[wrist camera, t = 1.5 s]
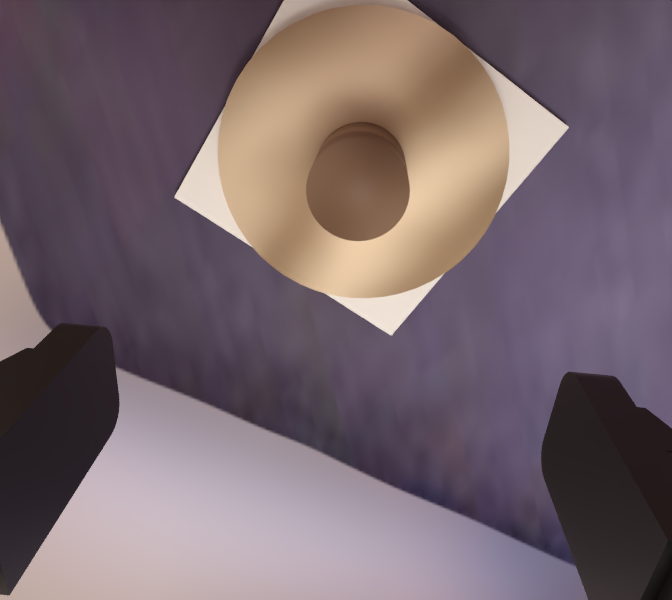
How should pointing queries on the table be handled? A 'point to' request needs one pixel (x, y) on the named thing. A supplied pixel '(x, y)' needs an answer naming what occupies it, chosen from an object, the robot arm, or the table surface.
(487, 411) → the table surface
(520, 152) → the mat
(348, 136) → the lid
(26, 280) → the table surface
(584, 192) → the table surface
